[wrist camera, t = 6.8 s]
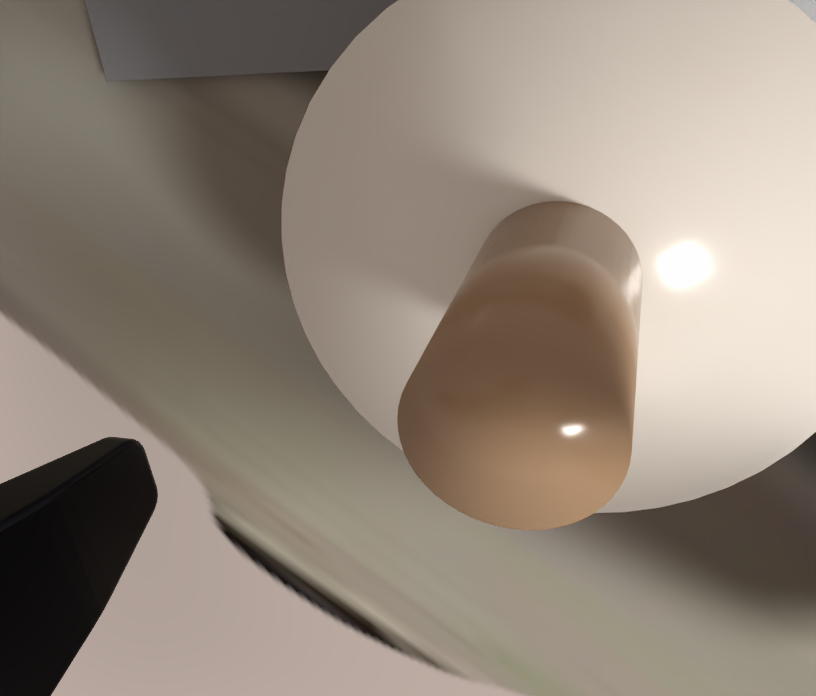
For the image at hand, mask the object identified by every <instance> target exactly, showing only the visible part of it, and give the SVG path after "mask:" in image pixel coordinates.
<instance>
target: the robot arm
mask: <svg viewBox="0 0 816 696" xmlns="http://www.w3.org/2000/svg"><path fill="white" fill-rule="evenodd" d="M157 497H158V493H157V487H156V484H155V480H154V477H153V475H152V471H151V468H150V465H149V462H148V459H147V456H146V453H145V450H144V448H143V446H142V445H141V444H140V443H139V442H138V441H136V440H134V439H126V438H118V437H107V438H104V439H101V440H100V441H97V442H95V443H92V444H90V445H88V446H86V447H83V448H81V449H79V450H76V451H74V452H72V453H70V454H67V455H65V456H63V457H61V458H58V459H56V460H54V461H52V462H49V463H47V464H45V465H42V466H40V467H38V468H36V469H33V470H31V471H29V472H26V473H24V474H22V475H20V476H17V477H15V478H13V479H11V480H8V481H6V482H4V483H1V484H0V696H51V694H52V693H53V691H54V690H55V688H56V686H57V685H58V683H59V682H60V680H61V678H62V677H63V675H64V674H65V672H66V670H67V669H68V667H69V666H70V664H71V662H72V661H73V659H74V658H75V656H76V654H77V653H78V651H79V649H80V648H81V647H82V645H83V643H84V642H85V640H86V639H87V637H88V635H89V634H90V632H91V631H92V629H93V627H94V626H95V624H96V622H97V621H98V619H99V617H100V615H101V613H102V612H103V610H104V608H105V607H106V605H107V603H108V601H109V599H110V597H111V595H112V593H113V591H114V589H115V587H116V585H117V583H118V581H119V579H120V577H121V575H122V573H123V571H124V569H125V567H126V565H127V563H128V562H129V560H130V558H131V556H132V554H133V552H134V550H135V547H136V545H137V544H138V542H139V540H140V538H141V536H142V534H143V532H144V530H145V528H146V526H147V524H148V522H149V520H150V518H151V516H152V514H153V512H154V509H155V506H156V503H157Z"/></svg>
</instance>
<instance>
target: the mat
mask: <svg viewBox="0 0 816 696" xmlns="http://www.w3.org/2000/svg"><path fill="white" fill-rule="evenodd" d="M396 1H398V0H85V4H86V7H87V11H88V15H89V18H90V22H91V26H92V29H93V33H94V37H95V40H96V44H97V48H98V51H99V55H100V59H101V62H102V66H103V70H104V73H105V77H106V81H107V82H109V81H129V80H149V79H168V78H188V77H208V76H228V75H248V74H268V73H287V72H307V71H327V70H330V68H331V67H332V66H333V64H334V63H335V62H336V61H337V59H338V58H339V57H340V56H341V55H342V53H343V52H344V51H345V50H346V48H347V47H348V46H349V45H350V43H351V42H352V41H353V40H354V39H355V37H356V36H357V35H358V34H359V33H361V32H362V31H363V30H364V29H365V28H366V27H367V26H368V25H369V24H370V23H371V22H372V21H374V20H375V19H376V18H377V17H378V16H379V15H380V14H381V13H382V12H383V11H384V10H385V9H386V8H388V7H389V6H391V5H392V4H394V3H395V2H396Z"/></svg>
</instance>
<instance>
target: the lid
mask: <svg viewBox="0 0 816 696" xmlns="http://www.w3.org/2000/svg"><path fill="white" fill-rule="evenodd" d="M281 239H282V247H283V255H284V263H285V271H286V275H287V279H288V283H289V287H290V291H291V295H292V299H293V303H294V306H295V308H296V311H297V314H298V316H299V319H300V321H301V324H302V327H303V329H304V332H305V334H306V336H307V338H308V340H309V342H310V344H311V346H312V348H313V349H314V351H315V353H316V355H317V357H318V359H319V361H320V363H321V364H322V366H323V367H324V369H325V370H326V371H327V373H328V374H329V376H330V377H331V379H332V380H333V382H334V383H335V385H336V386H337V388H338V389H339V390H340V391H341V393H342V394H343V395H344V396H345V397H346V398H347V400H348V401H349V402H350V403H351V404H352V406H353V407H354V408H355V409H356V410H357V411H358V413H359V414H361V415H362V416H363V417H364V418H365V419H366V420H367V421H368V422H369V423H370V424H371V425H372V426H373V427H374V428H375V429H376V430H377V431H378V432H379V433H380V434H382V435H383V436H384V437H385V438H387V439H388V440H389V441H391V442H392V443H393V444H394V445H396V446H397V447H398V448H400V449H401V450H402V451H403V452H404V454H405V456H406V458H407V460H408V462H409V464H410V465H411V467H412V468H413V470H414V471H415V473H416V474H417V476H418V477H419V478H420V479H421V480H422V482H423V483H424V484H425V485H426V486H427V487H428V488H429V489H430V490H431V491H432V492H433V493H434V494H435V495H436V496H438V497H439V498H440V499H441V500H443V501H444V502H445V503H447V504H448V505H450V506H451V507H453V508H455V509H456V510H458V511H460V512H462V513H464V514H466V515H468V516H470V517H472V518H474V519H477V520H480V521H482V522H485V523H488V524H492V525H495V526H499V527H505V528H510V529H520V530H544V529H552V528H557V527H561V526H566V525H569V524H572V523H575V522H577V521H580V520H582V519H584V518H586V517H588V516H590V515H592V514H593V513H614V512H630V511H638V510H646V509H653V508H660V507H665V506H669V505H673V504H677V503H681V502H686V501H690V500H694V499H697V498H700V497H702V496H705V495H708V494H711V493H714V492H717V491H719V490H722V489H725V488H728V487H730V486H732V485H734V484H736V483H738V482H740V481H742V480H744V479H746V478H748V477H750V476H753V475H755V474H757V473H759V472H761V471H762V470H764V469H765V468H767V467H769V466H770V465H772V464H773V463H775V462H776V461H778V460H780V459H781V458H783V457H784V456H786V455H787V454H789V453H790V452H792V451H793V450H795V449H796V448H797V447H798V446H799V445H801V444H802V443H803V442H804V441H805V440H807V439H808V438H809V437H810V436H811V435H813V434H814V433H815V432H816V23H815V22H814V21H812V20H811V19H810V18H809V17H808V16H807V15H806V14H805V13H804V12H802V11H801V10H800V9H799V8H798V7H797V6H796V5H794V4H793V3H792V2H790V1H789V0H398V1H396V2H395V3H394V4H392V5H391V6H389V7H388V8H386V9H385V10H384V11H383V12H382V13H381V14H380V15H379V16H378V17H377V18H376V19H375V20H374V21H372V22H371V23H370V24H369V25H368V26H367V27H366V28H365V29H364V30H363V31H362V32H361V33H359V34H358V35H357V36H356V37H355V39H354V40H353V41H352V42H351V43H350V45H349V46H348V47H347V48H346V50H345V51H344V52H343V53H342V55H341V56H340V57H339V58H338V59H337V61H336V62H335V63H334V64H333V66H332V67H331V68H330V70H329V71H328V73H327V75H326V76H325V78H324V80H323V81H322V83H321V85H320V86H319V88H318V90H317V91H316V93H315V95H314V96H313V98H312V100H311V101H310V103H309V106H308V108H307V110H306V113H305V115H304V118H303V120H302V122H301V125H300V127H299V129H298V132H297V134H296V137H295V140H294V144H293V148H292V151H291V155H290V158H289V162H288V166H287V169H286V176H285V183H284V191H283V198H282V238H281Z"/></svg>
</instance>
